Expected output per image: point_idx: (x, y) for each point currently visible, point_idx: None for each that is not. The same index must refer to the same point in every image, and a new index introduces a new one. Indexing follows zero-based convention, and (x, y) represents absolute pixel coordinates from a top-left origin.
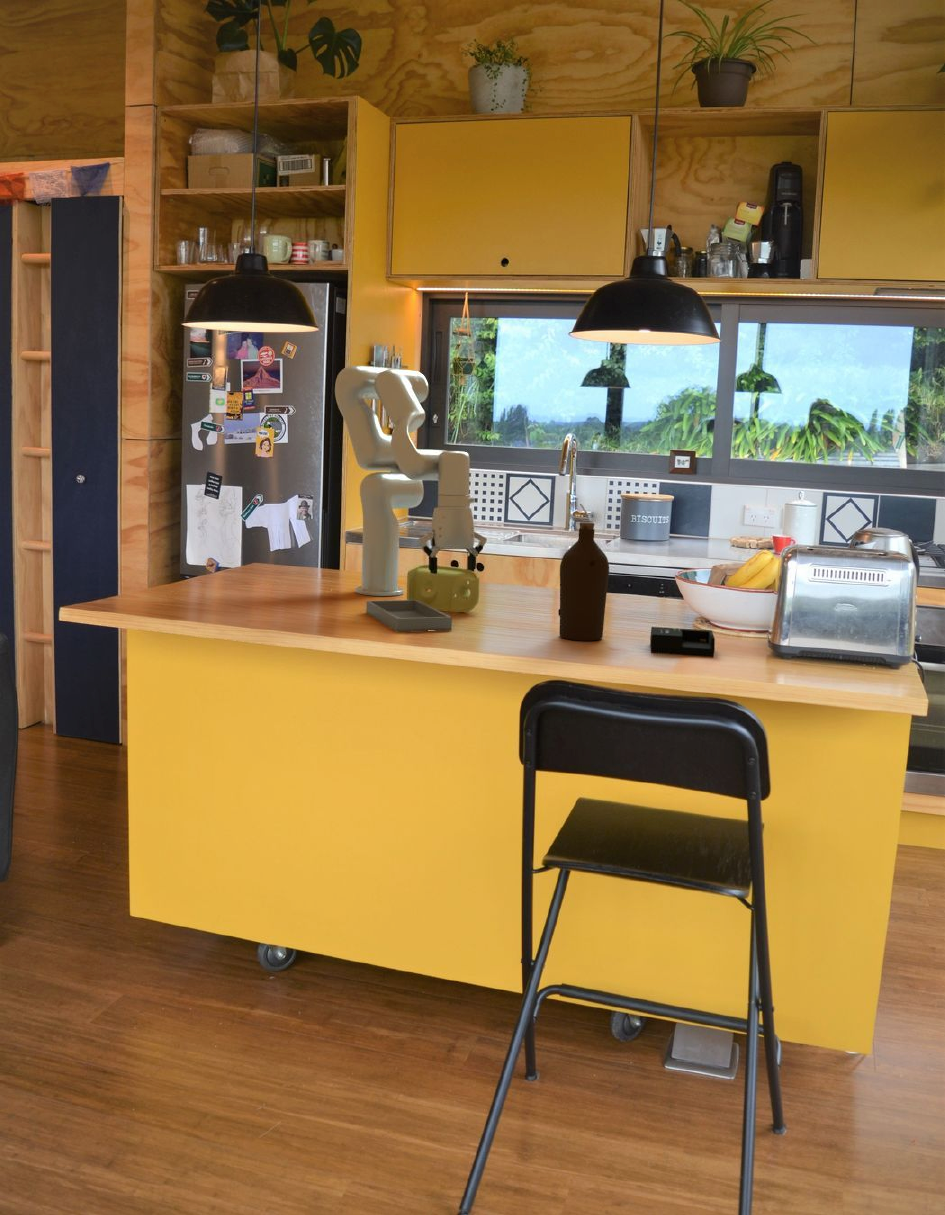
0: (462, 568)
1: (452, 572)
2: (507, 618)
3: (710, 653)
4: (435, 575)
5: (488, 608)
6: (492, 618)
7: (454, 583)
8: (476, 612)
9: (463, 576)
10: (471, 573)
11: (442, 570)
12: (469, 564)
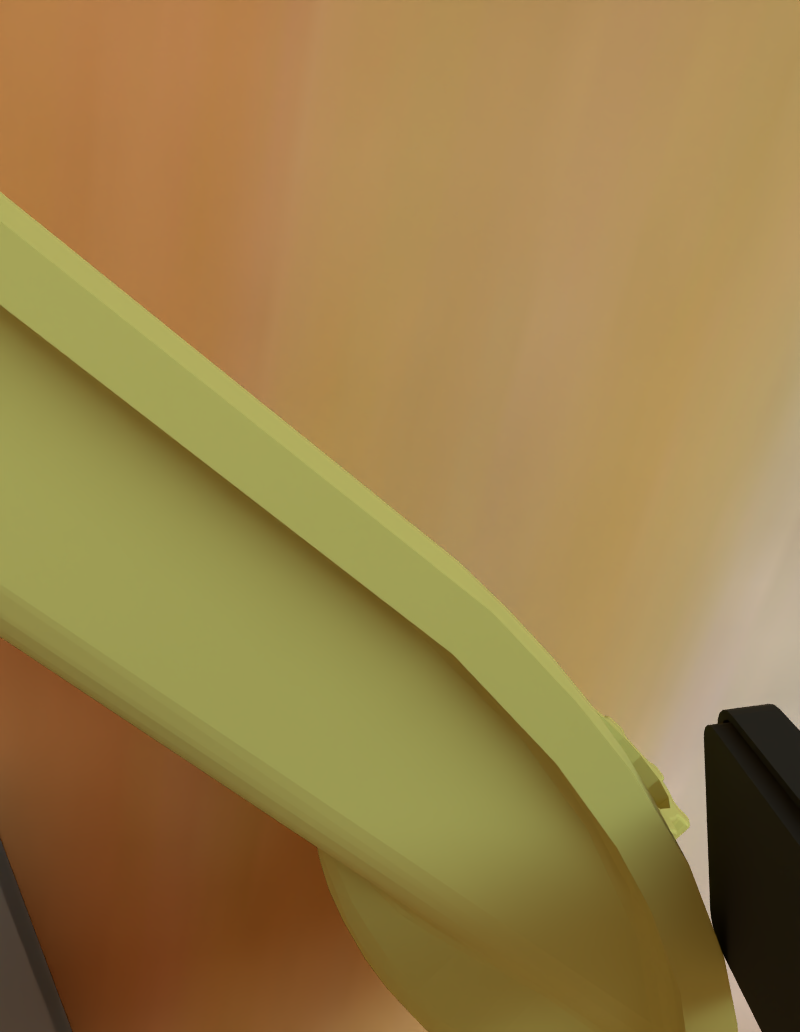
0: (606, 764)
1: (350, 768)
2: (741, 998)
3: None
4: (17, 646)
5: (779, 523)
6: None
7: (340, 909)
8: None
9: (506, 963)
10: (674, 1000)
11: (151, 544)
12: (786, 961)
